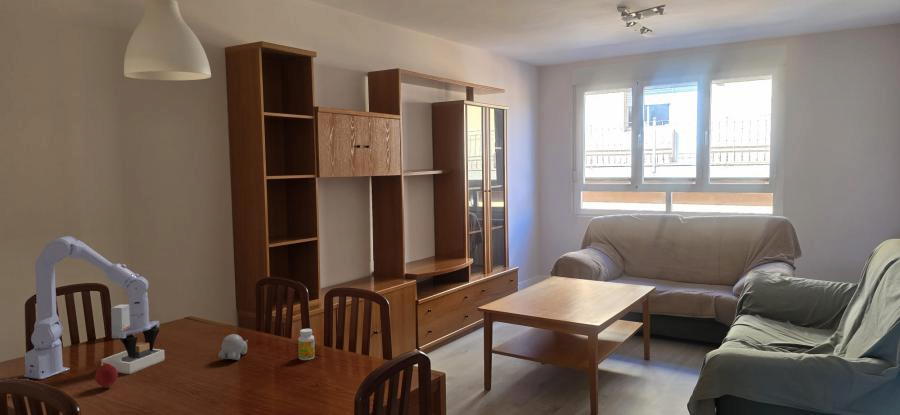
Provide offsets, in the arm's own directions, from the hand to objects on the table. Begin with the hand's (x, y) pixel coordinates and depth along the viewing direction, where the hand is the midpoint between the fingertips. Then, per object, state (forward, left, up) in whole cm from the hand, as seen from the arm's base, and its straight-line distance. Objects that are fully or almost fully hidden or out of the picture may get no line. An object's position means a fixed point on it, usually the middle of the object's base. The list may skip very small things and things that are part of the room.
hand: (140, 353), depth 195 cm
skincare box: (+22, +33, -4) cm, 40 cm away
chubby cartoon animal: (+14, -27, -4) cm, 31 cm away
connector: (0, 0, -3) cm, 3 cm away
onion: (-20, -8, -4) cm, 22 cm away
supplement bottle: (+22, -50, -4) cm, 55 cm away
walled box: (-2, +1, -3) cm, 4 cm away
